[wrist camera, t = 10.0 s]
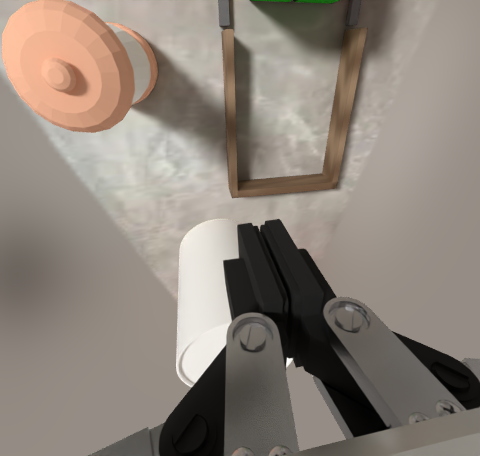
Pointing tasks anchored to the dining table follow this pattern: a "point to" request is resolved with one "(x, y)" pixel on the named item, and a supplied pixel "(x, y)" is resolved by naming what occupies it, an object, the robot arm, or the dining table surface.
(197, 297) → the canister
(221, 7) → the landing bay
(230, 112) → the wooden frame
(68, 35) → the pepper shaker
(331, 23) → the dining table surface
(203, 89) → the dining table surface
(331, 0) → the puzzle cube
